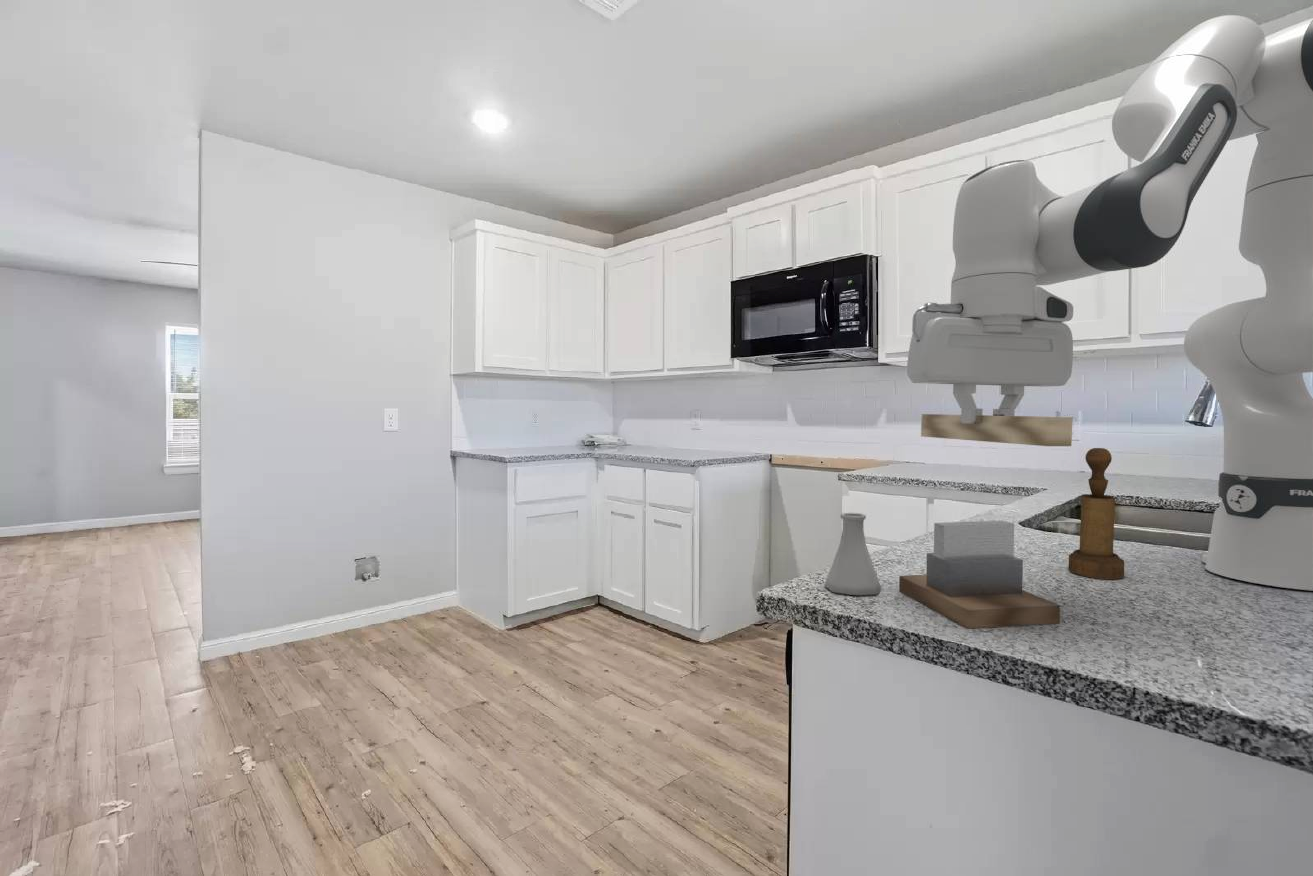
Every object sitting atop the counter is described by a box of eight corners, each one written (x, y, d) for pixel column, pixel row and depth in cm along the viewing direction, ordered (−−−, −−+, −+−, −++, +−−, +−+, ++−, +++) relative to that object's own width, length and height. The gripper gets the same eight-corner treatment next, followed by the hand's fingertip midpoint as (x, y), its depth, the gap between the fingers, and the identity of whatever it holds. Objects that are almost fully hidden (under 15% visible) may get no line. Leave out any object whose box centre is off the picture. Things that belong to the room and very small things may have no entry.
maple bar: (1071, 446, 63) (1072, 417, 63) (1047, 446, 63) (1048, 416, 63) (940, 436, 83) (941, 414, 83) (920, 436, 82) (921, 414, 82)
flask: (885, 599, 77) (886, 519, 76) (826, 595, 78) (826, 518, 78) (876, 583, 84) (877, 510, 83) (822, 580, 85) (822, 509, 85)
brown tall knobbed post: (1124, 582, 83) (1127, 450, 82) (1066, 575, 87) (1069, 448, 86) (1123, 572, 88) (1127, 447, 88) (1069, 565, 92) (1072, 446, 91)
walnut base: (976, 587, 81) (977, 572, 81) (1059, 623, 67) (1060, 605, 67) (899, 591, 80) (899, 575, 80) (968, 628, 66) (968, 610, 66)
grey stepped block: (993, 581, 77) (994, 518, 76) (1022, 593, 72) (1023, 525, 71) (926, 585, 75) (927, 520, 75) (951, 597, 70) (952, 528, 70)
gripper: (932, 296, 67) (928, 423, 67) (1085, 306, 71) (1080, 425, 72) (897, 306, 73) (893, 422, 73) (1040, 314, 77) (1036, 423, 78)
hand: (987, 423), depth 73 cm, fingers closed on maple bar, 3 cm apart
